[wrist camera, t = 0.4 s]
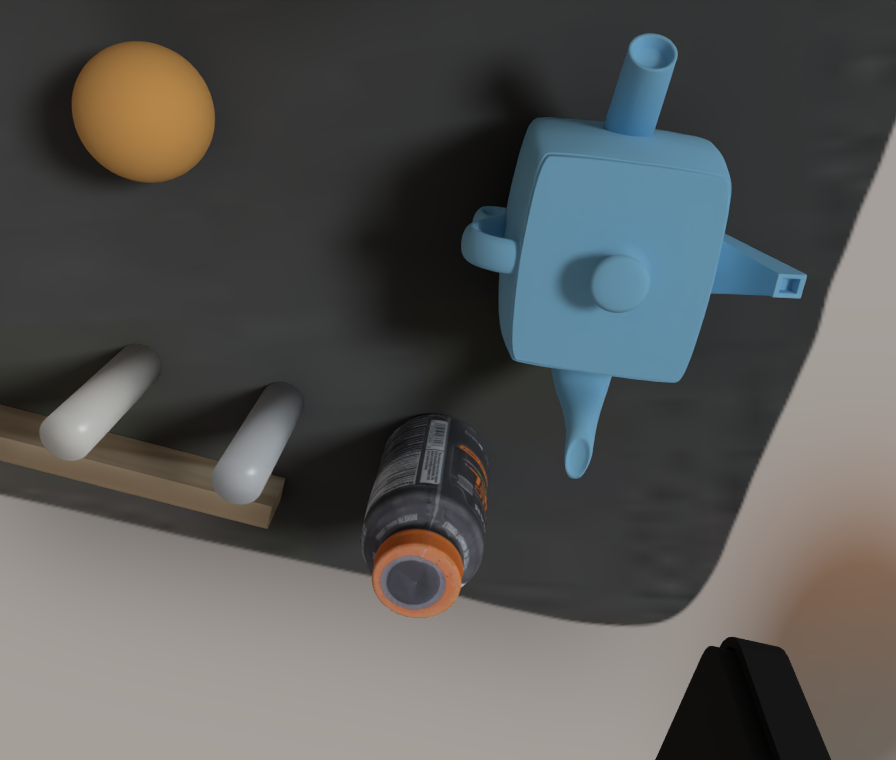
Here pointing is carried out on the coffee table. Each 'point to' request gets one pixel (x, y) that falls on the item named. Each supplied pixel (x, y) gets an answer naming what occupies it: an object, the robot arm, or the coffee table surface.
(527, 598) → the coffee table surface
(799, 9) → the coffee table surface
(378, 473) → the pill bottle
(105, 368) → the white pin
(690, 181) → the teapot
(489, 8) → the coffee table surface
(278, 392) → the grey pin
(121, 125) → the ball
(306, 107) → the coffee table surface
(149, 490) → the tan wooden bar
